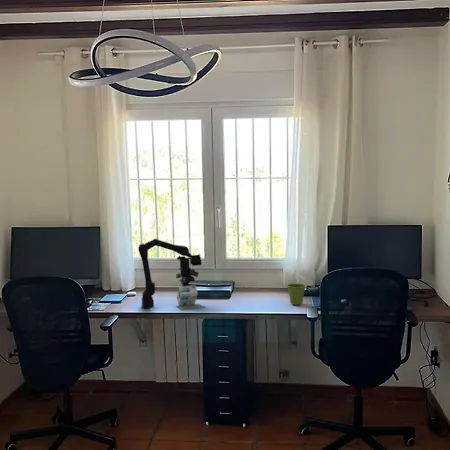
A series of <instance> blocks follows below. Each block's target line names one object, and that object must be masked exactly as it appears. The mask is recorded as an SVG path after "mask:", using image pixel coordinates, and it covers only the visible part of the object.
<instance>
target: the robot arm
mask: <svg viewBox="0 0 450 450" xmlns="http://www.w3.org/2000/svg"><path fill="white" fill-rule="evenodd" d="M155 246H156V247H160V248H163V249H167V250H169V251H173V252H175V253H177V254H178V256H177V257H176V260H179V266H180V267H179V268H178V269H179V270H180V272H179V273H176V276H175V277H176V279H179V278H180V279H179V280H178V281H179V282H180V284H181V286H189V283H191V282H195V281H196V280H195V278H198V276H199V271H196V270H195V269H194V268H191V267H190V265H191V266H192V267H193V266H194V267H196V266H202V257H201V254H192V253H190V249H189V247H188V246H186V245H181V244H174V243H170V242H167V241H164V240H160V239H158V238H153V239H151V240H149V241H148V242H145V243H140V244H139V245H138V253H139V256H140V258H141V262H142V266H143V267H142V268H143V275H144V279H145V289H144V291H143V292H142V295H141V296H142V297H141V306H140V307H141V308H142V309H143V310H144V309H150V308H154V307H155V306H154V305H155V303H154V302H155V301H154V298H153V295H154V294H155V292H156V291H157V288H156V284H155V283H156V282H155V281H152V276H151V270H150V269H151V268H150V264H149V258H148V257H149V250H151V249H152V248H154V247H155ZM180 255H181V256H180Z"/></svg>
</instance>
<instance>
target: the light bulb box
mask: <svg viewBox="0 0 450 450" xmlns="http://www.w3.org/2000/svg"><path fill="white" fill-rule="evenodd" d="M197 297H198V289H197V286H196V285H195V284H191V285H188V286H182V285H181V286H179V288H178V292H177V295H176V300H177V302H178V303H177V304H178V306H185V305H193V304H196V301H197Z"/></svg>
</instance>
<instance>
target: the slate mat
mask: <svg viewBox="0 0 450 450" xmlns="http://www.w3.org/2000/svg"><path fill="white" fill-rule="evenodd" d="M175 308H178V309H179V310H180V311H190V310H196V309H197V310H198V309H206V306H205V305H202V304H200V303H195V304H191V305H180V306H179V305H177V306H175Z"/></svg>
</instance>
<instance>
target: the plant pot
mask: <svg viewBox="0 0 450 450" xmlns="http://www.w3.org/2000/svg"><path fill="white" fill-rule="evenodd" d="M286 286H287V290H288V295H289V301H290V304H292V305H302V304H303V301H304V295H305V290H306V287H307V285H306V284H303V283H289V284H287V285H286Z"/></svg>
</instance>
